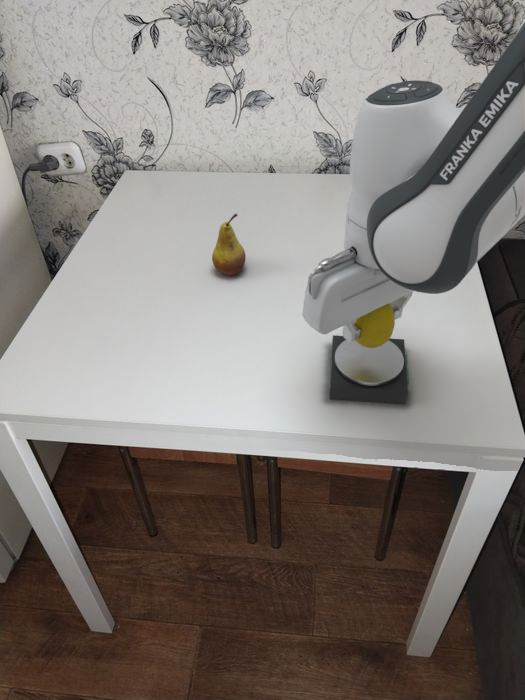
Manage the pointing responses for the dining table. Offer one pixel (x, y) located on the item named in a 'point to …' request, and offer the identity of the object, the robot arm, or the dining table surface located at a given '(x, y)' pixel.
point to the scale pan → (369, 363)
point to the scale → (377, 394)
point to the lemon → (376, 327)
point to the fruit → (228, 251)
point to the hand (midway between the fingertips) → (372, 327)
